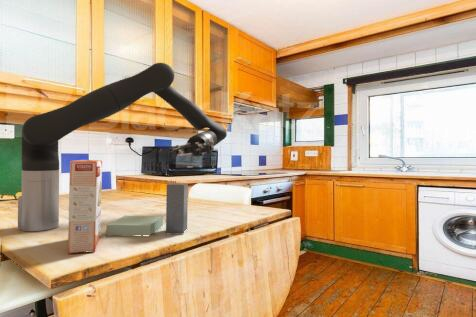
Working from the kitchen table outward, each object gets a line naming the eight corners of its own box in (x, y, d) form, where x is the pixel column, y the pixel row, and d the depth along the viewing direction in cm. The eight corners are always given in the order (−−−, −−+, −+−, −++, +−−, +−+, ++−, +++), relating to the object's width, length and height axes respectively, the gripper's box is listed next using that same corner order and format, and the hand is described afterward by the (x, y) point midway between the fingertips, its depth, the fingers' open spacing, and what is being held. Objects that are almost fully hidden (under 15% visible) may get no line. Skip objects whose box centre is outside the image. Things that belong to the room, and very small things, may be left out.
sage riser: (106, 235, 79) (106, 224, 79) (125, 225, 91) (125, 215, 91) (149, 236, 79) (149, 225, 79) (162, 225, 91) (162, 216, 91)
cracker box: (97, 252, 66) (98, 160, 65) (66, 255, 63) (67, 160, 63) (102, 235, 79) (103, 159, 78) (77, 237, 76) (77, 159, 76)
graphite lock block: (166, 233, 82) (166, 184, 82) (170, 229, 87) (171, 182, 87) (183, 234, 82) (184, 184, 82) (187, 229, 87) (187, 183, 87)
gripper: (181, 135, 106) (160, 144, 91) (217, 131, 102) (202, 140, 87) (184, 155, 108) (164, 167, 92) (220, 152, 104) (206, 164, 89)
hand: (183, 154), depth 90 cm, fingers open, 8 cm apart
